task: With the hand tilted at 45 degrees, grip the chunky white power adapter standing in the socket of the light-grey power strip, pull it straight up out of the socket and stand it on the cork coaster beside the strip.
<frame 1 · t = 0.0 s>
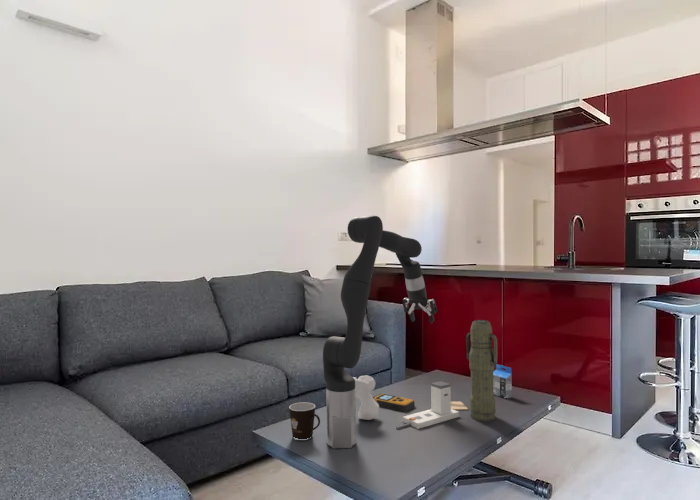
hand: (422, 321, 188), 31 cm above the table, tool tilted 20°, fingers open, 8 cm apart
electronic device: (393, 406, 177), on the table
power adapter: (441, 416, 164), resting in power strip
cork coaster: (452, 406, 175), on the table
label tape box: (500, 396, 188), on the table
coffee mug: (303, 439, 144), on the table
anatomical heart: (363, 419, 162), on the table
thermos: (482, 417, 163), on the table
power strip: (431, 419, 161), on the table
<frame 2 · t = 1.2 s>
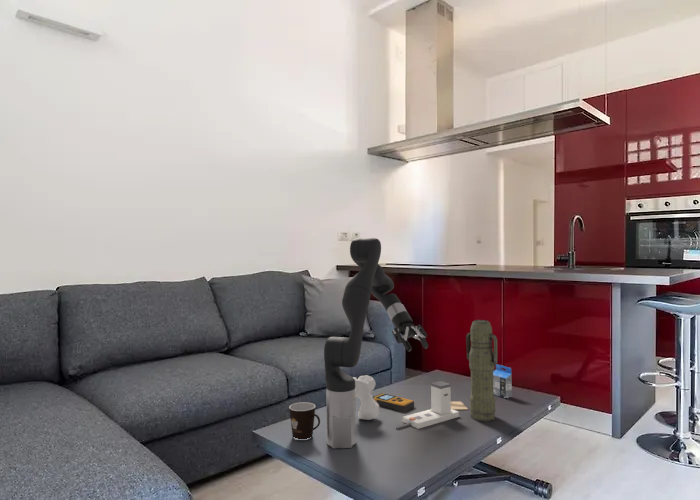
hand: (418, 348, 174), 23 cm above the table, tool tilted 45°, fingers open, 8 cm apart
nothing on the table moved.
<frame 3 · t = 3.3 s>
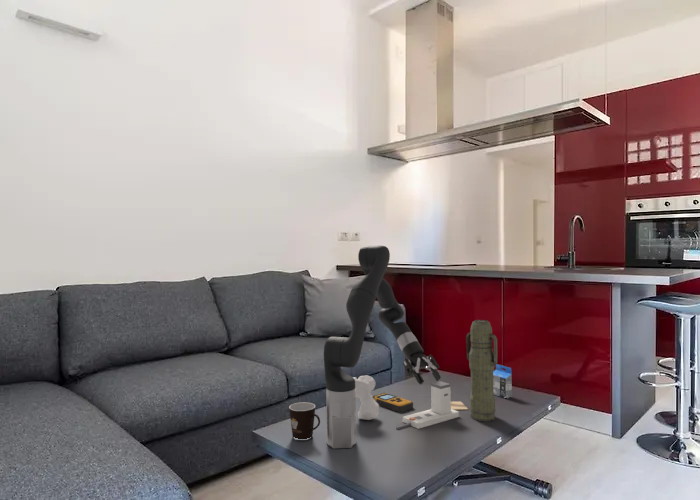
hand: (430, 381, 168), 12 cm above the table, tool tilted 45°, fingers open, 8 cm apart
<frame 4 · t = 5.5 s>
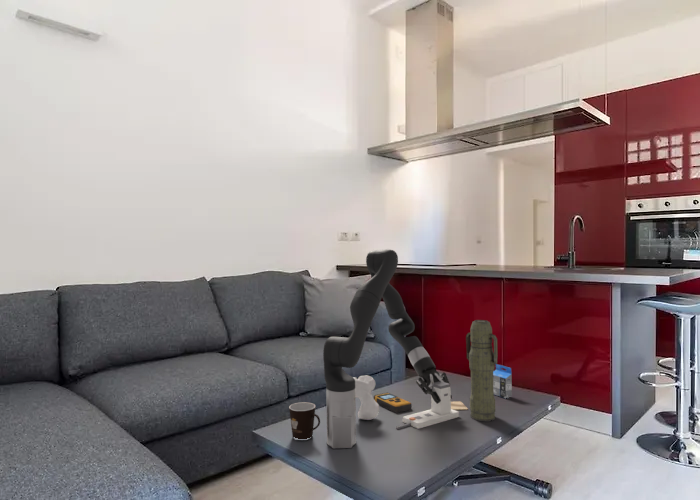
hand: (444, 400, 162), 6 cm above the table, tool tilted 45°, fingers closed on power adapter, 5 cm apart
power adapter: (441, 416, 164), resting in power strip, touching gripper
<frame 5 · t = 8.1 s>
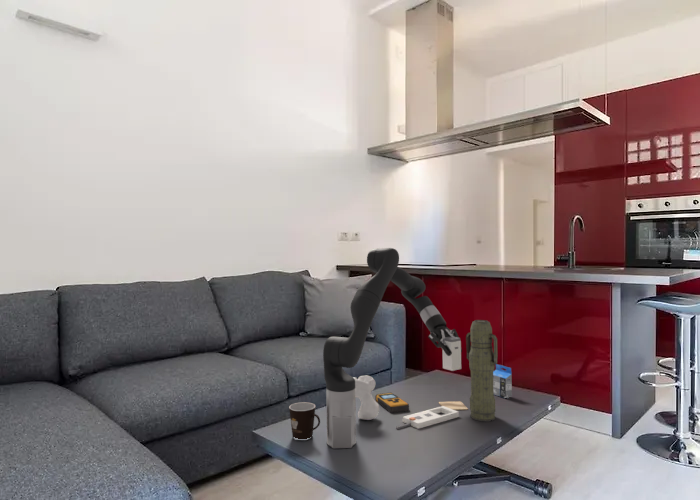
hand: (455, 353, 173), 21 cm above the table, tool tilted 45°, fingers closed on power adapter, 5 cm apart
power adapter: (451, 368, 175), point 15 cm above the table, touching gripper
when the fingers open (8 cm above the table, at t = 10.9 s): power adapter drops 1 cm, resting on cork coaster.
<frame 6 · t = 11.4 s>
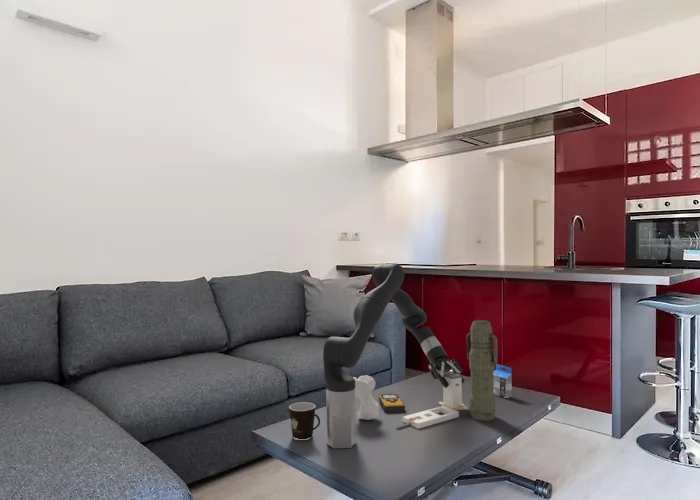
hand: (455, 384, 174), 9 cm above the table, tool tilted 45°, fingers open, 8 cm apart
power adapter: (452, 405, 175), resting on cork coaster
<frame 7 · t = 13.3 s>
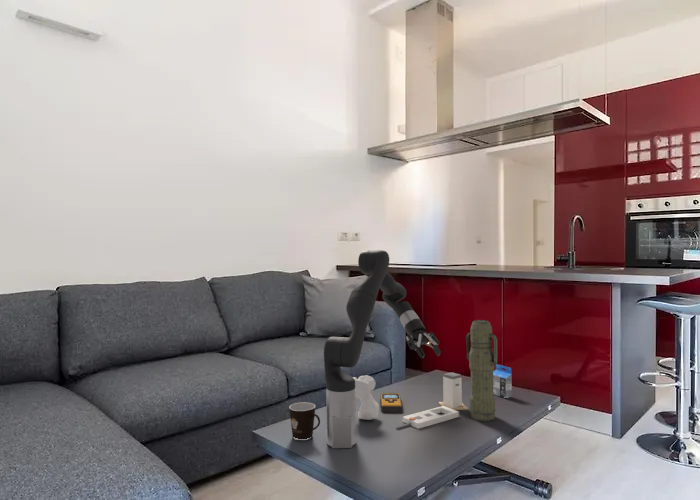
hand: (431, 355, 176), 20 cm above the table, tool tilted 45°, fingers open, 8 cm apart
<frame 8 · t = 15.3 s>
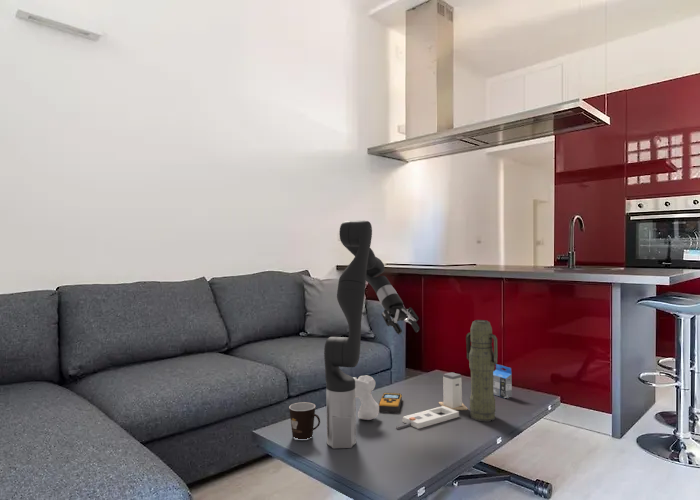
hand: (409, 332, 166), 31 cm above the table, tool tilted 45°, fingers open, 8 cm apart
at the end: power adapter inside the target area on the cork coaster (0.1 cm from its centre), point 0.4 cm above the cork coaster's base; power adapter tilted 0°; the gripper is holding nothing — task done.
